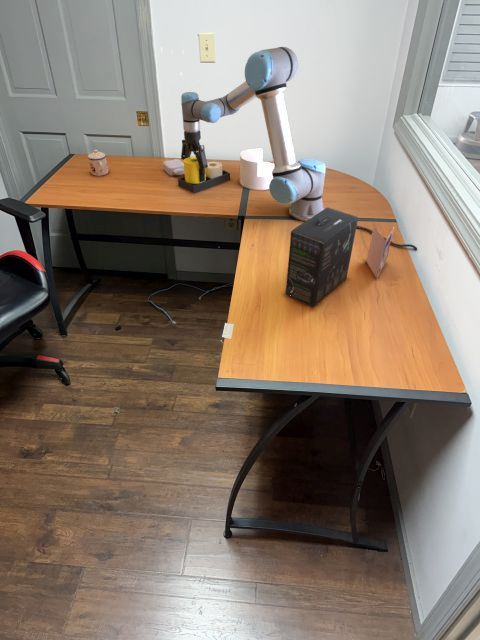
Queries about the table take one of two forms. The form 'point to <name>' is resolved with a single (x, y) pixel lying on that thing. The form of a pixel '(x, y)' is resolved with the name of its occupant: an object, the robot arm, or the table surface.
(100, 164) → the teacup with lid
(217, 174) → the paper roll
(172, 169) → the charger
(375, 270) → the greeting card
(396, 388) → the table surface
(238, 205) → the table surface
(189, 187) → the rack
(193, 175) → the tape roll
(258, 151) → the white notched cylinder
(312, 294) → the headset box
